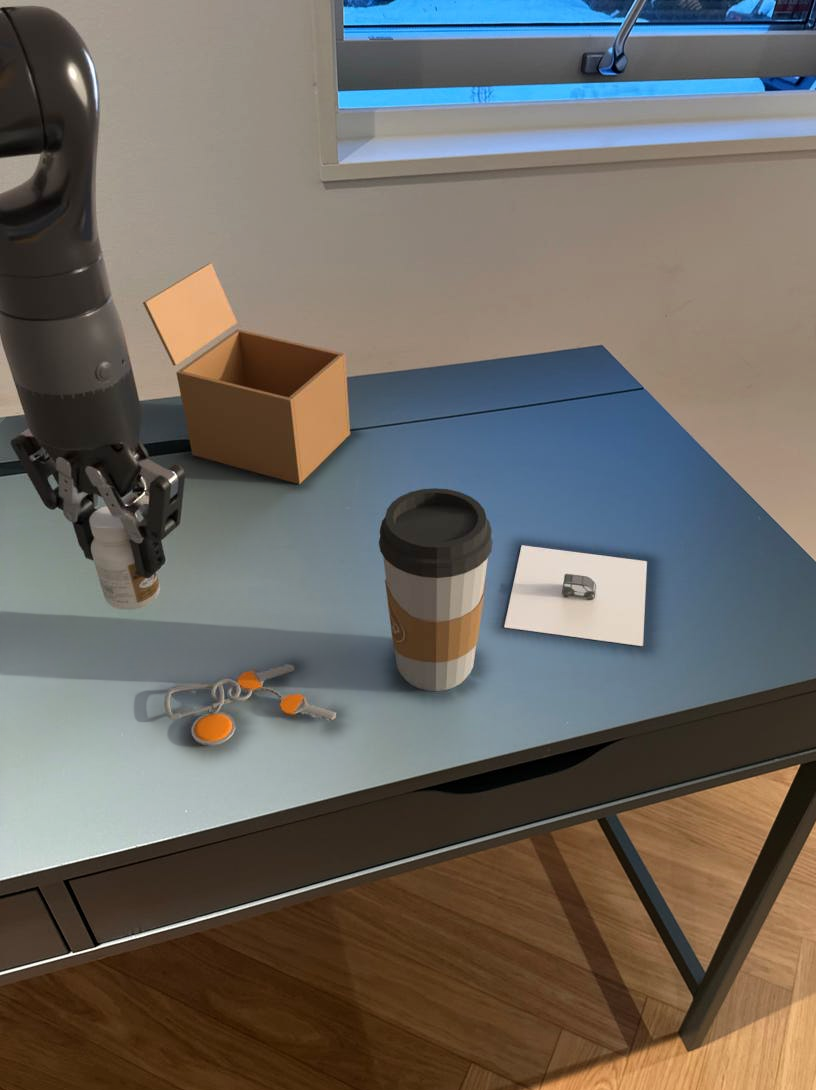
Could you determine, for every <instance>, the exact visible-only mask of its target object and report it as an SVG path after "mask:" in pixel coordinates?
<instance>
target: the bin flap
mask: <svg viewBox="0 0 816 1090" xmlns="http://www.w3.org/2000/svg"><path fill="white" fill-rule="evenodd" d="M142 304H143V307H144V308H145V310H146V312H147V315H148V316H149V319H150V320H151V323H152V325H153V328H154V329H155V331H156V333H157V335H158V337H159V339H160V341H161V343H162V345H163V347H164V349H165V352H166V353H167V356H168V357H169V360H170V362H171V364H172V366H173V367H174V366H177V365H179V364H180V363H182V362H183V361H184V360H186V359H188V358H189V357H190V356H192V355H193V354H195V353H196V352H198V351H199V350H200V349H202V348H204V347H205V346H206V345H208V344H209V343H210V342H212V341H214V340H215V339H216V338H218V337H219V336H221V335H222V334H223V333H225V332H226V331H228V330H229V329H231V328H232V327H234V326H235V325H236V324H238V321H237V318H236V316H235V314H234V311H233V309H232V307H231V304H230V303H229V300H228V298H227V296H226V293H225V291H224V289H223V287H222V284H221V282H220V280H219V278H218V275H217V273H216V271H215V268H214V266H213V264H212V263H211V262H210V263H209V262H208V263H207V264H206V265H204V266H202V267H200V268H199V269H197V270H195V271H194V272H192V273H190V274H188V275H187V276H185V277H184V278H181V279H180V280H178V281H177V282H175V283H174V284H172V285H170V286H168V287H166V288H165V289H163V290H161V291H160V292H158V293H157V294H155V295H153V296H152V297H150V298H148V299H146V300H145V301H143V302H142Z"/></svg>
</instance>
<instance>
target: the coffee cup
mask: <svg viewBox="0 0 816 1090" xmlns="http://www.w3.org/2000/svg"><path fill="white" fill-rule="evenodd" d="M492 534H493V533H492V526H491V523H490V520H489V519H488V518H487V515H486V511H485V508H484V507H483V506H482V505H481V504H480V502H479V501H478V500H476V499H475V498H473V497H472V496H470V495H468V494H465V493H463V492H461V491H457V490H453V489H449V488H437V487H434V488H433V487H432V488H421V489H417V490H412V491H409V492H407V493H405V494H402V495H400V496H399V497H397V498H396V499H394V500H393V501H392V502H391V503H390V505H389V506H388V507H387V509H386V511H385V516H384V517H383V519H382V520H381V524H380V527H379V535H380V536H379V540H378V547H379V552H380V554H381V555H382V559H383V565H384V566H383V567H384V574H385V580H384V584H385V590H386V591H385V592H386V600H387V607H388V614H389V622H390V623H389V624H390V630H391V638H392V645H393V648H394V654H395V661H396V668H397V670H398V672H399V673H400V675H401V676H402V677H403V679H404V680H405V681H406V682H407V683H409V684H410V685H411V686H413V687H415V688H417V689H421V690H423V691H427V692H428V691H429V692H441V691H447V690H450V689H454V688H455V687H457V686H458V685H461V684H462V683H463V682H464V681H465V680H466V679H467V677H468V676H470V674H471V672H472V670H473V668H474V663H475V656H476V649H477V644H478V641H479V636H480V635H479V634H480V628H481V627H480V626H481V620H482V613H483V607H484V606H483V605H484V597H485V590H486V584H487V583H486V582H487V577H486V573H487V567H488V559H489V556H490V554H491V553H492V552H493V551H492V549H493V539H492Z"/></svg>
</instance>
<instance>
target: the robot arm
mask: <svg viewBox="0 0 816 1090" xmlns="http://www.w3.org/2000/svg"><path fill="white" fill-rule="evenodd" d="M100 120H101V97H100V86H99V78H98V72H97V69H96V66H95V62H94V60H93V57H92V55H91V53H90V50H89V48H88V46H87V44H86V42H85V40H84V39H83V37H82V36H81V35H80V32H78V31H77V29H76V28H75V26H73V24H71V22H70V21H69V20H68V19H67V18H66V17H64V16H63V15H62V14H60V13H59V12H58V11H56V10H54V9H51V8H50V7H46V6H41V5H16V6H15V5H14V6H1V7H0V159H8V158H17V157H26V156H34V155H39V159H38V161H37V165H36V167H35V170H34V172H33V174H32V175H31V177H29V178H28V179H27V180H25V181H24V182H22V183H21V184H19V185H17V186H15V187H12V188H10V189H8V190H6V191H3V192H1V193H0V341H1V344H2V348H3V351H4V355H5V358H6V361H7V364H8V367H9V370H10V373H11V376H12V380H13V382H14V386H15V389H16V392H17V395H18V398H19V402H20V405H21V408H22V411H23V414H24V417H25V421H26V423H27V427H28V428H27V429H25V430H24V431H22V432H20V433H19V434H18V435H17V436H16V437H14V438H13V439H11V440H10V446H11V447H12V449H13V451H14V453H15V455H16V457H17V458H18V460H19V462H20V464H21V466H22V467H23V469H24V471H25V472H26V473H25V474H26V475H27V476H28V478H29V481H30V482H31V484H32V486H33V487H34V489H35V491H36V492H37V494H38V496H39V498H40V499H41V501H42V504H43V505H44V506H45V507H46V508H48V509H49V510H51V511H55V509H59V510H61V511H62V514H63V516H64V517H65V519H67V521H69V522H71V523H72V526H73V530H74V534H75V536H76V539H77V543H78V545H79V547H80V549H81V550H82V552H83V555H84V557H85V559H87V560H89V561H92V562H94V560H93V556H92V553H91V543H92V541H93V539H94V536H93V534H92V530H91V527H90V523H89V519H90V516H91V515H92V514H93V513H94V512H95V511H96V510H98V509H99V508H96V507H97V506H98V503H99V501H98V499H99V497H101V498H102V500H103V501H104V504H105V506H107V507H108V509H109V511H110V513H111V515H112V516H113V517H115V518H120V520H121V522H122V524H123V525H124V527H125V529H126V531H127V533H128V535H129V537H130V538H131V540H130V545H131V549H132V553H133V557H134V560H135V564H136V568H137V572H138V575H139V576H141V577H145V578H150V577H151V576H152V575H153V574H155V573H156V572H157V573H158V571H159V570H160V569H161V568H162V567H163V566H164V565H165V564H166V559H167V558H166V555H165V551H164V547H163V542H162V541H163V540H165V538H167V536H168V535H170V534H171V533H172V532H173V531H174V530H175V529H176V528H178V526H179V525H180V524H181V518H182V508H183V499H184V491H185V489H184V488H185V481H186V472H185V470H184V468H183V467H181V466H180V465H179V464H176V463H175V464H174V463H173V464H172V465H170V466H169V467H168V468H165V467H164V466H161V465H160V464H158V463H156V462H155V461H152V460H151V457H150V454H149V452H148V450H147V449H146V447H145V445H144V444H143V442H142V440H141V438H140V429H141V423H142V419H143V418H142V417H143V412H142V406H141V403H140V397H139V394H138V389H137V384H136V379H135V375H134V371H133V367H132V362H131V357H130V353H129V348H128V344H127V339H126V334H125V330H124V326H123V323H122V320H121V317H120V314H119V311H118V309H117V306H116V304H115V303H116V302H115V300H114V298H113V294H112V290H111V284H110V281H109V276H108V272H107V267H106V263H105V259H104V254H103V250H102V244H101V240H100V236H99V230H98V221H97V219H98V218H97V192H96V191H97V181H96V180H97V161H98V148H99V134H100ZM50 476H53V478H54V480H55V482H56V484H57V486H56V487H54V488H53V487H52V486H51V484H50V481H49V477H50ZM130 492H131V493H130ZM129 493H130V494H129ZM128 494H129V495H128ZM127 495H128V496H127ZM125 496H127V497H125ZM124 497H125V498H124ZM122 498H124V499H122ZM137 511H139V513H140V515H141V516H142V518H143V519H141V520H140V521H139V519H138V516H137V517H136V515H137Z"/></svg>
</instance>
